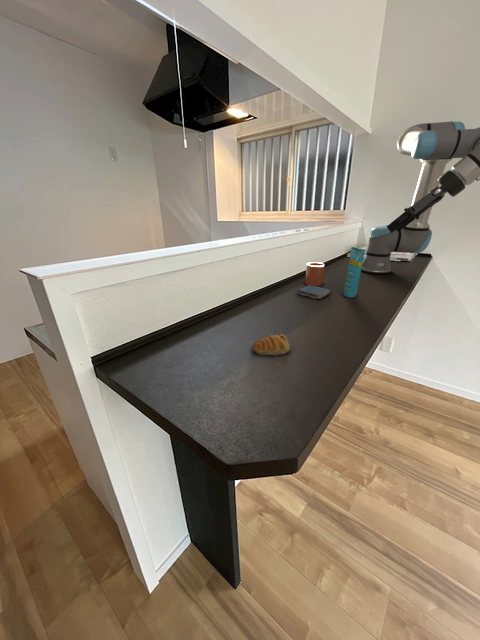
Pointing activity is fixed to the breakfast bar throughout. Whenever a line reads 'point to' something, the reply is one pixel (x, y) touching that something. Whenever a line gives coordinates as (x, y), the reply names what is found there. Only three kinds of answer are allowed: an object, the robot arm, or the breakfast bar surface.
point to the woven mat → (313, 291)
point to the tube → (353, 272)
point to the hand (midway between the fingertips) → (392, 229)
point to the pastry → (272, 345)
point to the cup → (314, 273)
